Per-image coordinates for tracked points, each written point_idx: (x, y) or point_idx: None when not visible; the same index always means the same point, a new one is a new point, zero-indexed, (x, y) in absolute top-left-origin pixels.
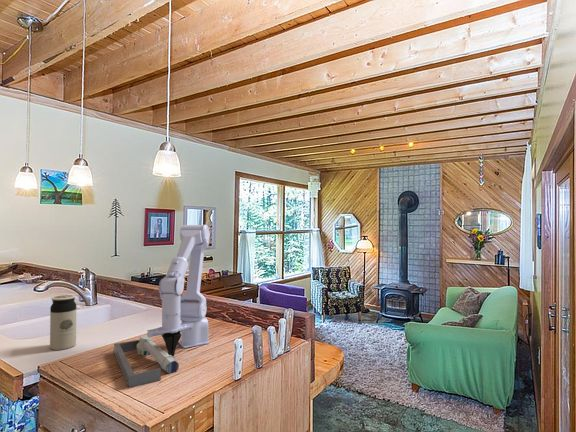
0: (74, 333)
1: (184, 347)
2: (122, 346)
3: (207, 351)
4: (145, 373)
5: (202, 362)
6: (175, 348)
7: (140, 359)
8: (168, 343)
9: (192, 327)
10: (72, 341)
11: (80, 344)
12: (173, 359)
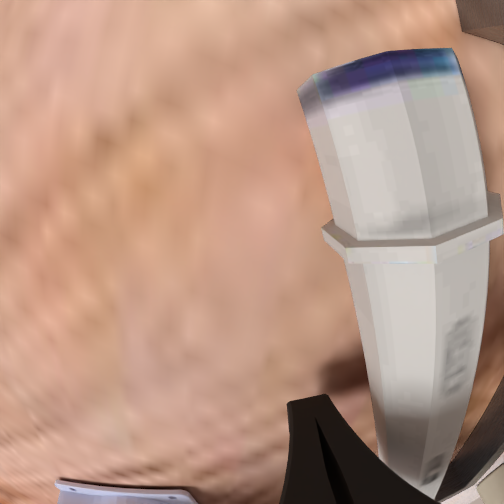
0: (499, 498)
1: (183, 492)
2: (451, 483)
3: (33, 415)
4: None
5: (24, 237)
6: (291, 460)
7: None
8: (405, 496)
9: None
10: (498, 481)
11: None
12: (416, 128)
